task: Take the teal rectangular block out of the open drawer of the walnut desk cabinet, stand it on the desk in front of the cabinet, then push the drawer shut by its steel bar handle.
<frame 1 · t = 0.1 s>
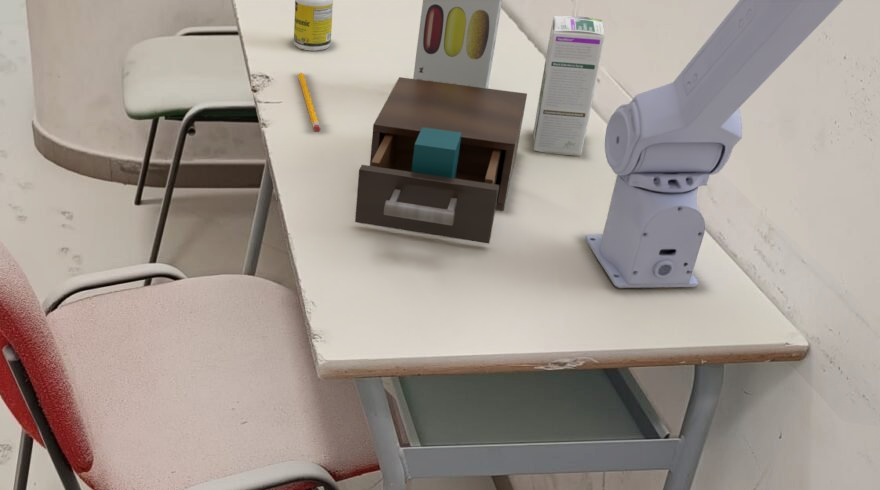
pencil: (308, 104, 129), on the table
cabinet: (444, 172, 113), on the table
syrup box: (555, 146, 121), on the table
supplement bottle: (311, 46, 147), on the table
supplement box: (449, 101, 131), on the table
drawer: (431, 186, 102), point 4 cm above the table, slide at 8.0 cm, touching teal rectangular block
teal rectangular block: (430, 200, 103), point 2 cm above the table, touching drawer
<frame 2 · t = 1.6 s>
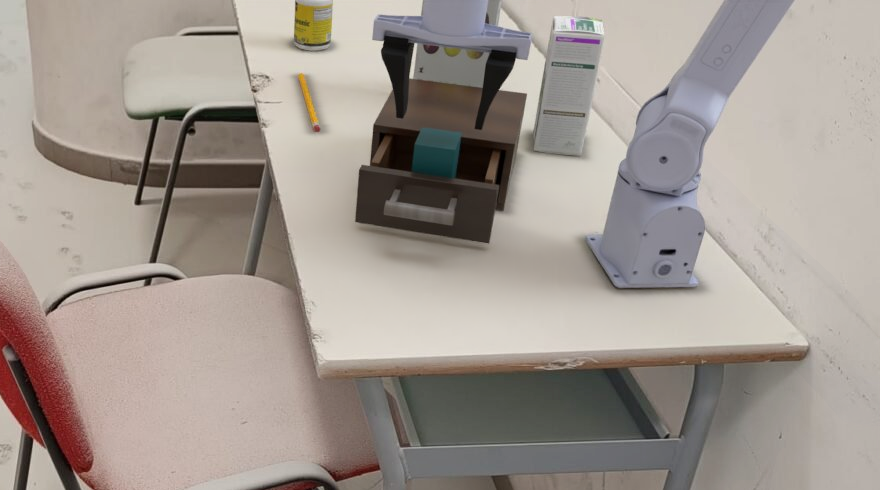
hand: (440, 120, 99), 11 cm above the table, tool pointing down, fingers open, 7 cm apart
nothing on the table moved.
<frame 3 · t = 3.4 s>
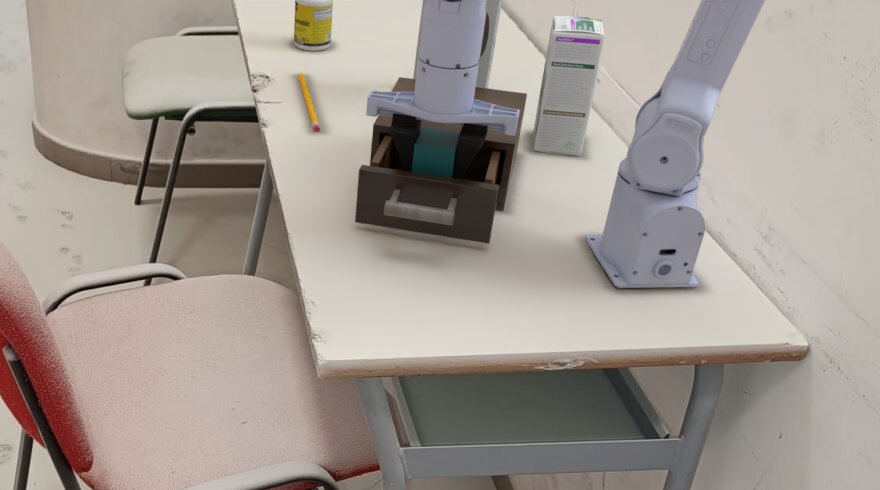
hand: (432, 189, 102), 3 cm above the table, tool pointing down, fingers closed on teal rectangular block, 4 cm apart
teal rectangular block: (430, 200, 103), point 2 cm above the table, touching drawer, gripper
everything else where it was.
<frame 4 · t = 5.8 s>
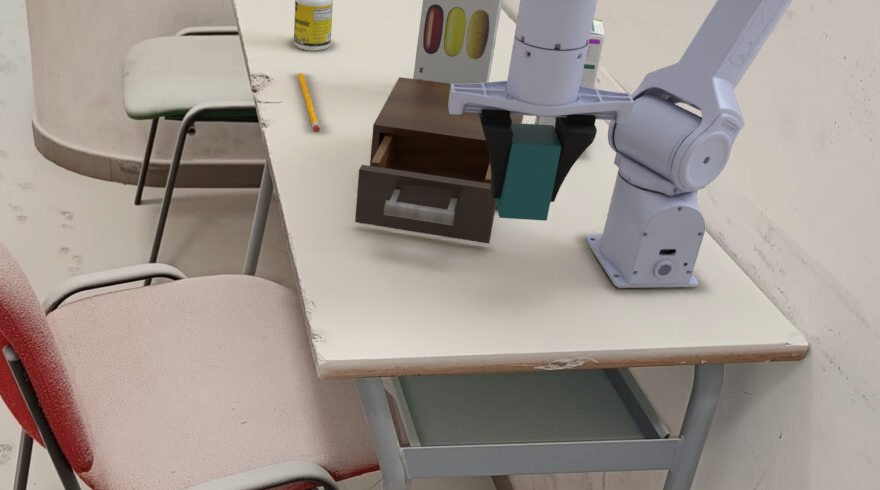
hand: (522, 194, 87), 10 cm above the table, tool pointing down, fingers closed on teal rectangular block, 4 cm apart
drawer: (431, 186, 102), point 4 cm above the table, slide at 8.0 cm
teal rectangular block: (519, 207, 87), point 9 cm above the table, touching gripper
everything else where it was.
when the fingers open (1 cm above the table, at t = 8.4 s): teal rectangular block stays where it is, on the table.
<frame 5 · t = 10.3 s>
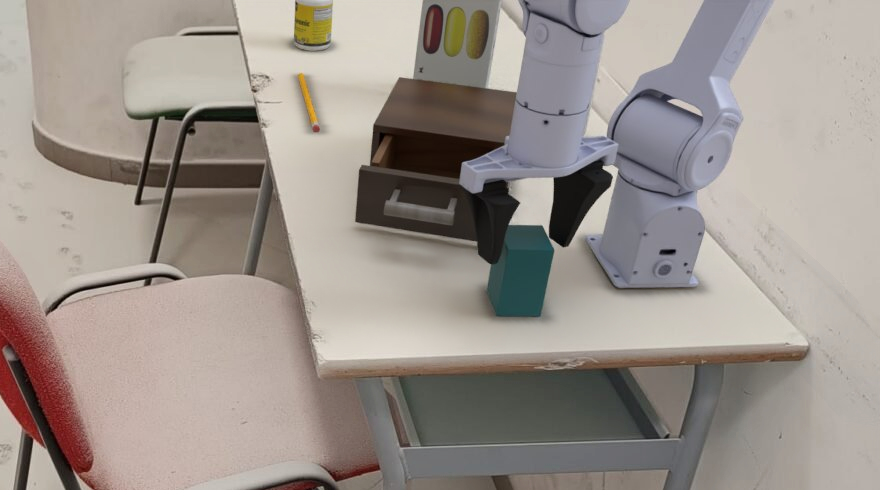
hand: (523, 250, 88), 5 cm above the table, tool pointing down, fingers open, 7 cm apart
teal rectangular block: (513, 302, 91), on the table
everything else where it was.
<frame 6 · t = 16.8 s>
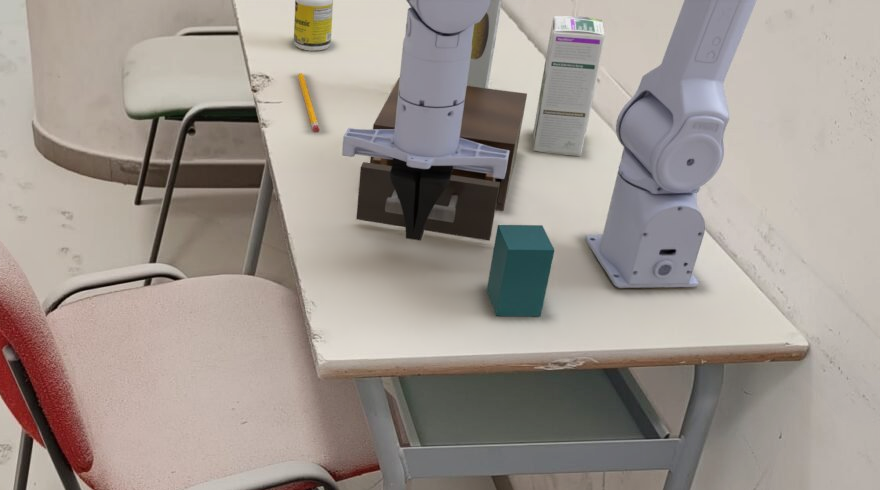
hand: (414, 234, 94), 3 cm above the table, tool pointing down, fingers closed, pressing on drawer
drawer: (432, 184, 102), point 4 cm above the table, slide at 7.4 cm, touching gripper
everything else where it was.
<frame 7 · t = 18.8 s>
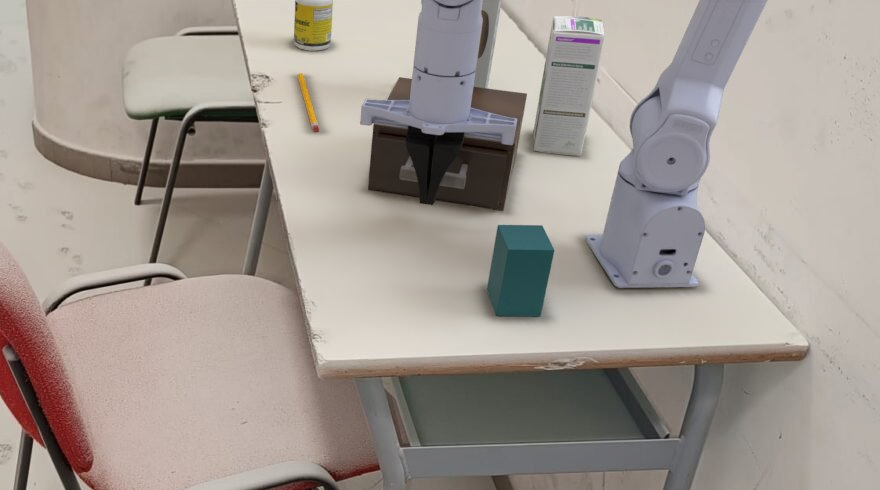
hand: (427, 200, 100), 3 cm above the table, tool pointing down, fingers closed, pressing on drawer
drawer: (443, 155, 108), point 4 cm above the table, slide at 0.0 cm, touching cabinet, gripper
everything else where it was.
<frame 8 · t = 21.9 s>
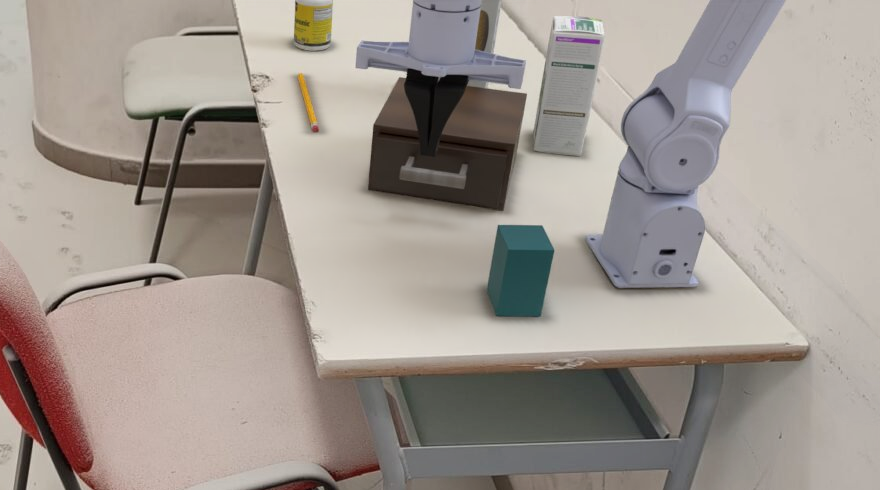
hand: (428, 151, 93), 10 cm above the table, tool pointing down, fingers closed
drawer: (443, 155, 108), point 4 cm above the table, slide at 0.0 cm, touching cabinet
everything else where it was.
at the end: teal rectangular block inside the target area (0.1 cm from its centre), on the table; teal rectangular block tilted 0°; drawer slide at 0.0 cm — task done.
